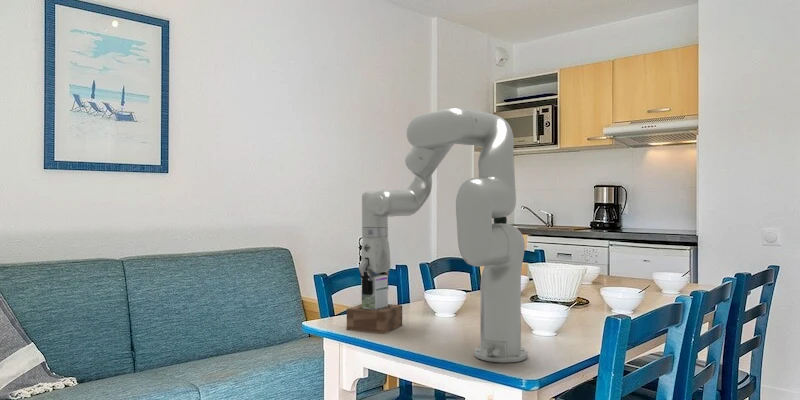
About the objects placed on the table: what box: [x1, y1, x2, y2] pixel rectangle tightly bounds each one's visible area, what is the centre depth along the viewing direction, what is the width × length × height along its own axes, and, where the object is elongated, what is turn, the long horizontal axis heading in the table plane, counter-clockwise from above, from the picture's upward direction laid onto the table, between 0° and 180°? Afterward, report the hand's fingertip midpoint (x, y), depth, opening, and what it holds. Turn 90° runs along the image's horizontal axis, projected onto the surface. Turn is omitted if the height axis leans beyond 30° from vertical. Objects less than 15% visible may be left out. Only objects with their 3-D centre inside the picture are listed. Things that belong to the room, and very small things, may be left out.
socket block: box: [346, 303, 403, 335], centre depth 174 cm, size 12×12×6 cm
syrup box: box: [360, 273, 389, 310], centre depth 174 cm, size 6×6×14 cm
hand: (375, 292), depth 174 cm, fingers open, 9 cm apart
